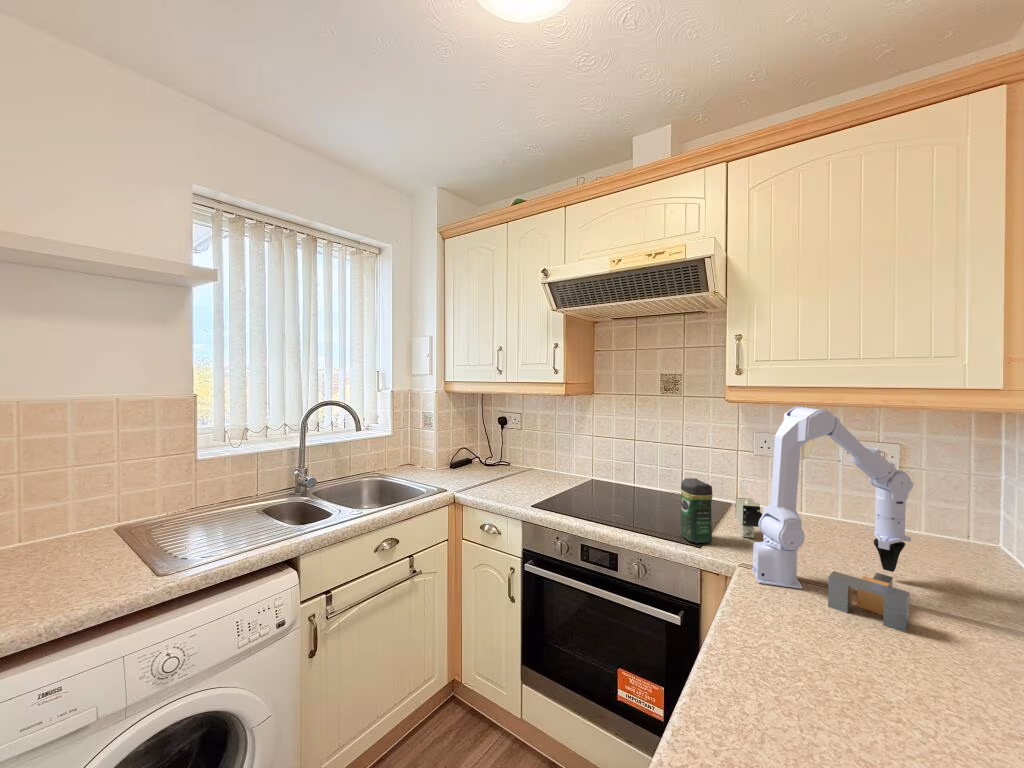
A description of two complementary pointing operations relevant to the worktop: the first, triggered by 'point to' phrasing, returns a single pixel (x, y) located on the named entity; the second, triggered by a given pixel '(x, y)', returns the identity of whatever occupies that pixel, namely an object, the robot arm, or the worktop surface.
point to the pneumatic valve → (747, 516)
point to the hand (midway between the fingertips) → (888, 570)
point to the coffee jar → (696, 511)
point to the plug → (871, 599)
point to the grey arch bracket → (893, 598)
